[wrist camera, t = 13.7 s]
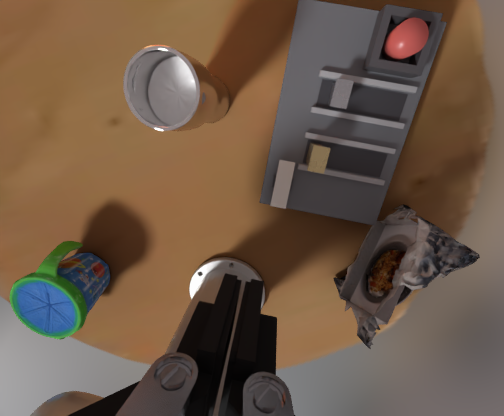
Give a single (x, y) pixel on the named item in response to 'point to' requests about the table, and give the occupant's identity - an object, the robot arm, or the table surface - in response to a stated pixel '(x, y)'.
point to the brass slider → (317, 158)
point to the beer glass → (173, 90)
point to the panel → (358, 109)
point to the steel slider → (340, 93)
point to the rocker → (282, 184)
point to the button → (405, 39)
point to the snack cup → (60, 291)
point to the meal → (397, 267)
